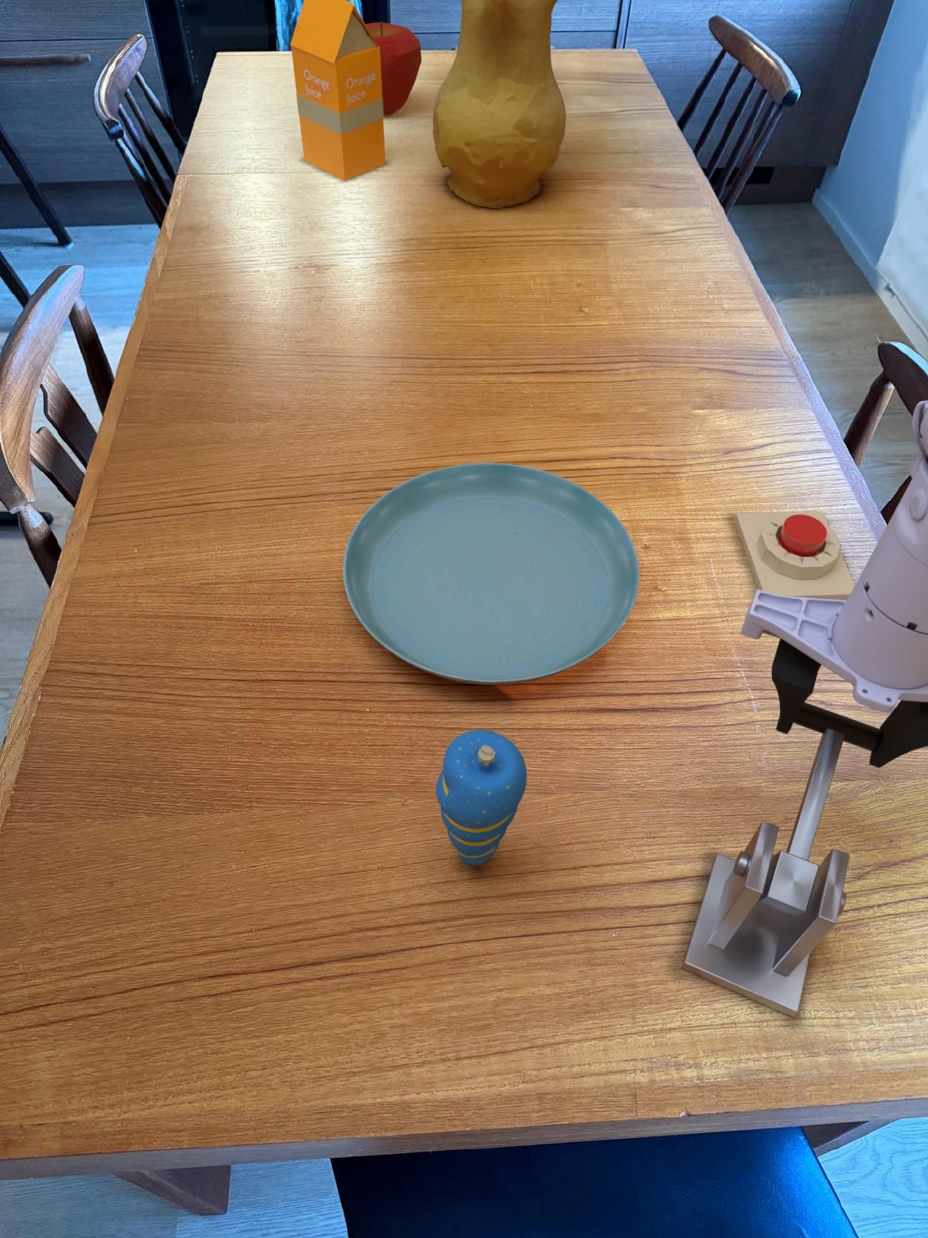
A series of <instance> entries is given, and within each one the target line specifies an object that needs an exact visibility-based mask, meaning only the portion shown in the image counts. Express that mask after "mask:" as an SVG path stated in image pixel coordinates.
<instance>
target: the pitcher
mask: <svg viewBox="0 0 928 1238" xmlns="http://www.w3.org/2000/svg"><path fill="white" fill-rule="evenodd" d="M558 1H559V0H461V19H460V30H459V31H460V32H459V36H458V44H457V49H456V53H455V57H454V60H453V63H452V65H451V67H450V70H449V72H448V74H447V76H446V77H445V79H444V80H443V82H442V83H441V85H440V87H439V89H438V92H437V93H436V97H435V100H434V103H433V111H432V116H433V117H432V138H433V142H434V149H435V152H436V153H435V154H436V155H437V158H438V161H439V163H440V165H441V167H442V168H443V169H445V168H447V167H448V170H449V173H450V174H451V176H449V177H448V180H447V185H448V187H449V189H450V191H451V192H453V193H454V194H455V196H457V197H458V198H461V200H464V201H465V202H466V203H469V204H472V205H475V206H478V207H484V208H489V209H501V208H503V207H504V208H505V207H513V206H515V205H519V204H522V203H526V202H529V201H530V200H531V199H533V198H534V197H535V196H536V195H538V193H540V190H541V188H542V186H541V183H540V177H542V175H544V173H546V172H547V171H549V170H550V169H551V168H552V167H553V166H554V164H555V163H556V161H557V160H558V159H559V157H560V148H561V145H562V143H563V141H564V139H565V134H566V125H567V124H566V123H567V113H566V112H567V111H566V105H565V102H564V97H563V95H562V91H561V89H560V86H559V85H558V82H557V80H556V78H555V77H556V76H555V74H554V70H553V65H552V49H551V34H552V22H553V21H552V20H553V19H552V16H553V15H552V13H553V11H554V8H555V5H556V4H557V3H558Z"/></svg>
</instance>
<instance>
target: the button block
mask: <svg viewBox="0 0 928 1238" xmlns="http://www.w3.org/2000/svg"><path fill="white" fill-rule="evenodd" d="M798 514H802V515H808V516H811V517H814V518H816V519H817V520H819V521H820V522H821V523H822V524H823V525H824V526H825V528H826V530H827V537H826V539H825V541H824V543H823V545H822V547H821V549H820V551H819V552H818V553H817V554H816V555H813V556H810V557H800V556H797V555H794V554H792V553H789V552H787V551H786V550H785V549H784V548H783V547H782V546H781V545H780V543H779V534H780V531H781V529H782V526H783V524H784V522H785V520H786V519H787V518H788V517H790V516H793V515H798ZM733 522H734V525H735V527H736V531H737V533H738V537H739V540H740V543H741V545H742V548H743V551H744V553H745V556H746V560H747V563H748V566H749V568H750V572H751V574H752V577H753V580H754V583H755V586H756V588H757V589H758V590H762V591H765V592H769V593H773V594H778V595H784V596H792V597H806V598H820V599H834V600H847V599H848V597H849V595H850V594H851V592H852V590H853V588H854V586H855V584H856V583H855V582H854V580H853V577H852V575H851V573H850V571H849V568H848V565H847V563H846V561H845V560H844V557H843V554H842V553H841V547H842V544H841V543H840V540H839V537H838V536H837V535H838V534H837V533H836V532H835V530H834V529H833V528H831V527H830V525H829V523H828V521H827V518H826V516H825V513H824V511H823V510H812V511H811V510H809V511H772V512H771V511H769V512H763V511H762V512H735V515H734V518H733Z"/></svg>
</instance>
